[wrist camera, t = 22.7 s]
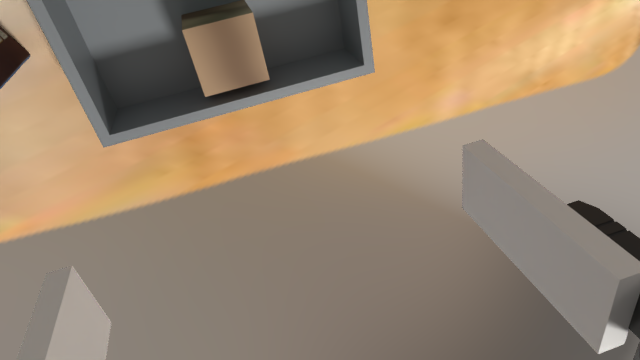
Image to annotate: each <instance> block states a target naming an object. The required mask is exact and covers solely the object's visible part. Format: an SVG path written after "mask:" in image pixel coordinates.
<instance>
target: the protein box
mask: <svg viewBox="0 0 640 360" xmlns="http://www.w3.org/2000/svg"><path fill="white" fill-rule="evenodd" d="M29 57H30V54H29V53H28V52H27V51H26V50H25V49H24V48H23V47H22V46H20V45H19V44H18V43H17V42H16V41H15V40H14V39H13V38H11V37H10V36H9V35H8V34H7V33H6V32H5V31H3V30H2V29H1V28H0V89H1V88H2V87H3V86H4V85H5V83H6V82H7V81H8V80H9V79H10V78H11V77H12V76H13V75H14V74H15V73H16V71H17V70H18V69H19V68H20V67H21V66H22V64H23V63H24V62H25V61H26V60H27V59H29Z"/></svg>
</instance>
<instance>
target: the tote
mask: <svg viewBox="0 0 640 360" xmlns="http://www.w3.org/2000/svg"><path fill="white" fill-rule="evenodd" d="M236 1H240V0H27V2H28V4H29V6H30V8H31V9H32V11H33V13H34V15H35V17H36V19H37V21H38V23H39V25H40V27H41V29H42V31H43V32H44V34H45V36H46V38H47V40H48V42H49V44H50V46H51V48H52V50H53V52H54V54H55V55H56V57H57V59H58V61H59V63H60V65H61V67H62V69H63V71H64V73H65V75H66V76H67V78H68V80H69V82H70V84H71V86H72V88H73V90H74V92H75V94H76V96H77V98H78V99H79V101H80V103H81V105H82V107H83V109H84V111H85V113H86V115H87V117H88V119H89V121H90V122H91V124H92V126H93V128H94V130H95V132H96V134H97V136H98V138H99V140H100V142H101V143H102V145H103V147H107V146H111V145H114V144H118V143H122V142H125V141H129V140H132V139H136V138H140V137H143V136H147V135H150V134H154V133H158V132H161V131H165V130H168V129H172V128H176V127H179V126H183V125H186V124H190V123H194V122H197V121H201V120H204V119H208V118H212V117H215V116H219V115H222V114H226V113H230V112H233V111H237V110H240V109H244V108H248V107H251V106H255V105H258V104H262V103H266V102H269V101H273V100H276V99H280V98H284V97H287V96H291V95H294V94H298V93H302V92H305V91H309V90H312V89H316V88H320V87H323V86H327V85H330V84H334V83H338V82H341V81H345V80H348V79H352V78H356V77H359V76H363V75H366V74H370V73H374V72H375V70H374V61H373V52H372V43H371V34H370V25H369V16H368V7H367V0H245V2H246V3H247V5H248V6H249V8H250V9H251V10H252V12H253V15H254V19H255V23H256V27H257V31H258V35H259V39H260V43H261V47H262V51H263V55H264V59H265V63H266V66H267V70H268V74H269V78H270V80H266V81H263V82H259V83H255V84H252V85H248V86H244V87H241V88H237V89H233V90H230V91H226V92H222V93H218V94H215V95H211V96H207V97H205V95H204V92H203V89H202V86H201V83H200V81H199V78H198V75H197V72H196V69H195V66H194V63H193V60H192V58H191V55H190V52H189V49H188V46H187V43H186V40H185V37H184V34H183V32H182V17H181V15H183V14H187V13H191V12H195V11H199V10H204V9H208V8H212V7H216V6H220V5H224V4H228V3H232V2H236Z"/></svg>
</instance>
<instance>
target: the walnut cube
mask: <svg viewBox="0 0 640 360" xmlns="http://www.w3.org/2000/svg"><path fill="white" fill-rule="evenodd" d="M181 17H182V32H183V34H184V37H185V40H186V43H187V46H188V49H189V52H190V55H191V58H192V60H193V63H194V66H195V69H196V72H197V75H198V78H199V81H200V83H201V86H202V89H203V92H204V95H205V97H207V96H211V95H215V94H218V93H222V92H226V91H230V90H233V89H237V88H241V87H244V86H248V85H252V84H255V83H259V82H263V81H266V80H270V78H269V74H268V70H267V66H266V63H265V59H264V55H263V51H262V47H261V43H260V39H259V35H258V31H257V27H256V23H255V19H254V15H253V12H252V10H251V9H250V8H249V6H248V5H247V3H246V2H245V0H240V1H236V2H232V3H228V4H224V5H220V6H216V7H212V8H208V9H204V10H199V11H195V12H191V13H187V14H183V15H181Z"/></svg>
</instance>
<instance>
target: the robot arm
mask: <svg viewBox="0 0 640 360" xmlns="http://www.w3.org/2000/svg"><path fill="white" fill-rule="evenodd" d="M462 192H463V193H462V201H463V202H462V206H463V209H464V210H465V211H466V212H467V213H468V215H469V216H470V217H471V218H472V219H473V220H474V221H475V222H476V223H477V224H478V225H479V226H480V227H481V228H482V230H483V231H484V232H485V233H486V234H487V235H488V236H489V237H490V238H491V239H492V240H493V241H494V242H495V244H496V245H497V246H498V247H499V248H500V249H501V250H502V251H503V252H504V253H505V254H506V255H507V256H508V258H509V259H510V260H511V261H512V262H513V263H514V264H515V265H516V266H517V267H518V268H519V269H520V270H521V272H522V273H523V274H524V275H525V276H526V277H527V278H528V279H529V280H530V281H531V282H532V283H533V284H534V286H535V287H537V289H538V290H539V291H540V292H541V293H542V294H543V295H544V296H545V297H546V298H547V300H548V301H549V302H550V303H551V304H552V305H553V306H554V307H555V308H556V309H557V310H558V311H559V312H560V314H561V315H562V316H563V317H564V318H565V319H566V320H567V321H568V322H569V323H570V324H571V325H572V326H573V328H574V329H575V330H576V331H577V332H578V333H579V334H580V335H581V336H582V337H583V338H584V339H585V340H586V342H588V344H589V345H590V346H591V347H592V348H593V349H594V350H595V351H596V352H597V353H598V354H599V353H602V352H605V351H607V350H610V349H612V348H615V347H618V346H620V345H623V344H624V343H625V340H626V336H627V334H628V331H629V329H630V330H631V331H632V332H633V333H634V334H635V335H636V336H637V337H638V338H639V339H640V238H638V237H637V236H636V235H634V234H633V233H632V232H630V231H627V230H626V228H625V227H623V226H622V225H621V224H619V223H618V222H614V220H613V219H612V218H611V217H610V216H608V215H607V214H606V213H604V212H603V211H601V210H600V209H599V208H596V207H594V206H592V205H589V204H586V203H584V202H581V201H576V202H572V203H569V204H565V203H564V202H563V201H562V200H560V199H559V198H558V197H556V196H555V195H554V194H552V193H551V192H550V191H549V190H547V189H546V188H545V187H543V186H542V185H541V184H540V183H538V182H537V181H536V180H534V179H533V178H532V177H531V176H529V175H528V174H527V173H526V172H524V171H523V170H522V169H520V168H519V167H518V166H517V165H515V164H514V163H513V162H511V161H510V160H509V159H508V158H506V157H505V156H504V155H502V154H501V153H500V152H499V151H497V150H496V149H495V148H493V147H492V146H491V145H490V144H488V143H487V142H486V141H485V140H479V141H476V142H472V143H469V144H466V145H463V190H462ZM110 328H111V321H110V320H109V318H108V317H107V315H106V314H105V312H104V311H103V310H102V308H101V307H100V305H99V304H98V303H97V301H96V299H95V298H94V296H93V295H92V294H91V292H90V291H89V289H88V288H87V286H86V285H85V283H84V282H83V281H82V279H81V278H80V276H79V275H78V273H77V272H76V270H75V269H74V267H73V266H69V267H66V268H62V269H60V270H56V271H53V272H49V273H47V274H46V276H45V279H44V282H43V285H42V288H41V291H40V294H39V297H38V300H37V302H36V305H35V308H34V311H33V314H32V317H31V320H30V322H29V325H28V328H27V331H26V334H25V337H24V340H23V343H22V345H21V348H20V351H19V354H18V357H17V360H106V354H107V347H108V341H109V335H110ZM633 360H640V342H639V345H638V347H637V350H636V353H635V356H634V358H633Z"/></svg>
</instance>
